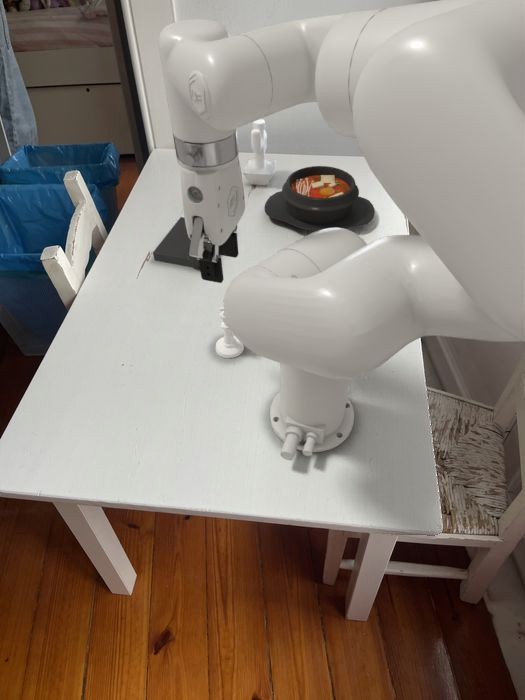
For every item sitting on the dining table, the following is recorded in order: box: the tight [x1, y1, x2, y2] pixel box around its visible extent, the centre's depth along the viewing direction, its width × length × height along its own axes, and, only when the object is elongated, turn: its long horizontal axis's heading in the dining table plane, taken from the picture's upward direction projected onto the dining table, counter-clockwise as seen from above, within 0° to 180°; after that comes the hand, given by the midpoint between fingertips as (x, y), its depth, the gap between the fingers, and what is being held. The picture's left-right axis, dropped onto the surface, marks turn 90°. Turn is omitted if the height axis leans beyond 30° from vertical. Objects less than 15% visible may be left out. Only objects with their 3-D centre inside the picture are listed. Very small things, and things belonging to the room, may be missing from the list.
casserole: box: [264, 165, 376, 232], centre depth 108 cm, size 25×19×8 cm
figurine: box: [242, 118, 277, 186], centre depth 118 cm, size 7×9×15 cm
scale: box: [152, 216, 212, 270], centre depth 103 cm, size 15×12×4 cm
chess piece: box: [215, 306, 245, 359], centre depth 80 cm, size 5×5×10 cm
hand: (220, 266), depth 71 cm, fingers open, 5 cm apart
